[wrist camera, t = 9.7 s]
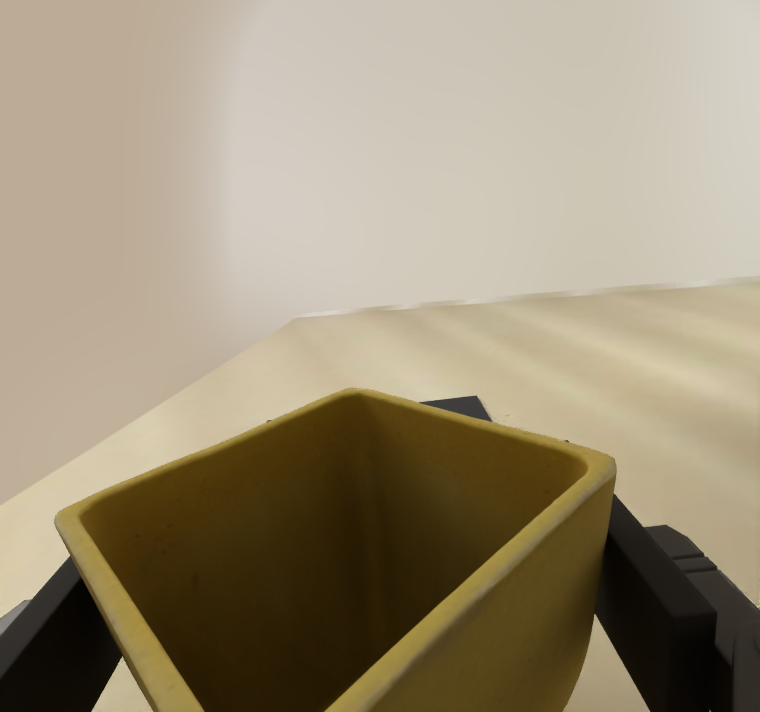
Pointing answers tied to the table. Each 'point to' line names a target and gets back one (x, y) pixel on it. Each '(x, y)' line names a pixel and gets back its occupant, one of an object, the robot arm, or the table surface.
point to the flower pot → (353, 564)
